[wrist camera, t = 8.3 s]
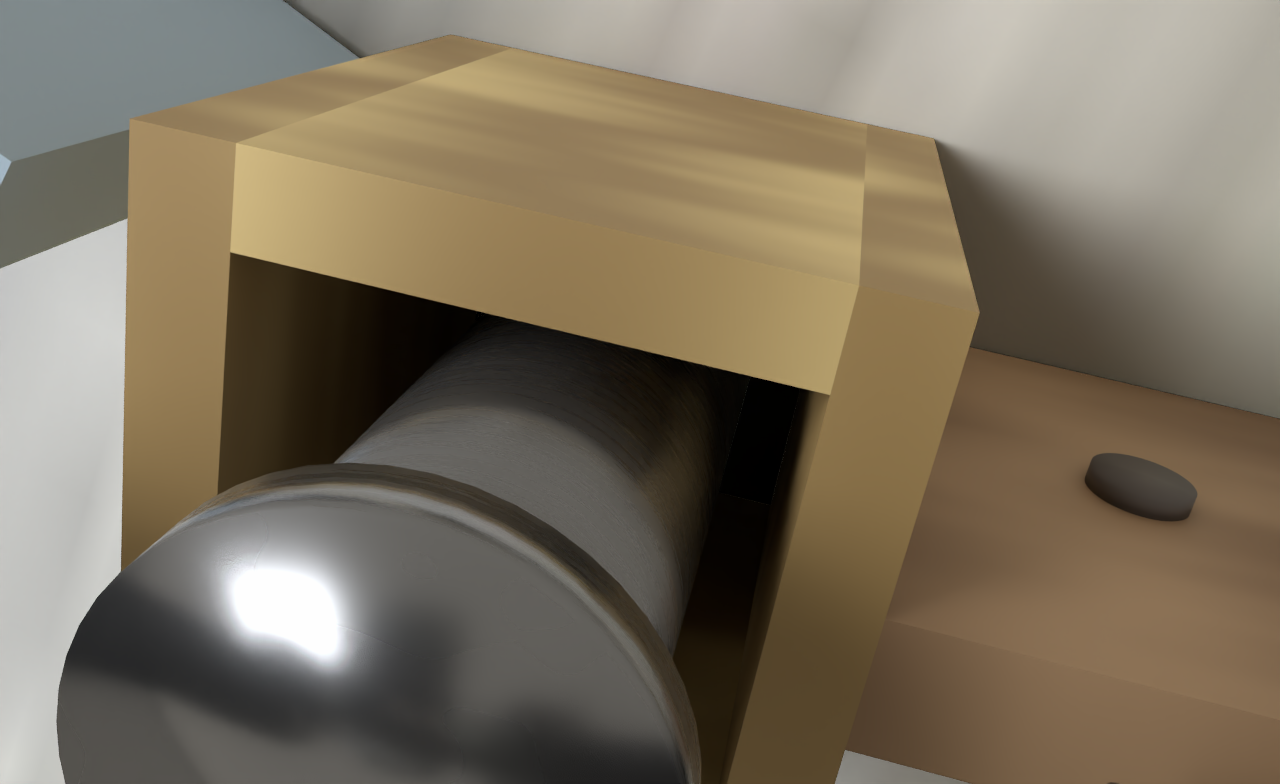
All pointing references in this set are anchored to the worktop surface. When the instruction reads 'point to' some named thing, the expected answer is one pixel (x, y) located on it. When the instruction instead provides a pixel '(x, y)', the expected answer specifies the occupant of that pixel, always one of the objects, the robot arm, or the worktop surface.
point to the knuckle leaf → (742, 343)
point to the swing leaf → (119, 95)
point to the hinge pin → (429, 590)
